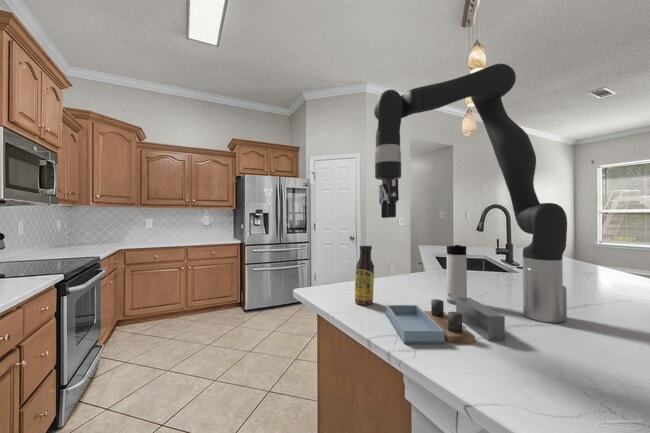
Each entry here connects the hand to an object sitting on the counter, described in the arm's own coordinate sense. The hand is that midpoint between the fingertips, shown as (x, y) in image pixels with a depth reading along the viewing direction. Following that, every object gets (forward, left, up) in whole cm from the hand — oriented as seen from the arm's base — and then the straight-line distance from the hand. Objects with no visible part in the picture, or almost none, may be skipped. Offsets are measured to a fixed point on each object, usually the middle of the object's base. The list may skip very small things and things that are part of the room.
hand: (388, 217), depth 83 cm
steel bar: (-22, +8, -29) cm, 37 cm away
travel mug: (-27, -15, -29) cm, 43 cm away
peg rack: (-13, +8, -29) cm, 33 cm away
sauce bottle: (+5, -14, -29) cm, 33 cm away
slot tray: (-4, +8, -29) cm, 31 cm away
